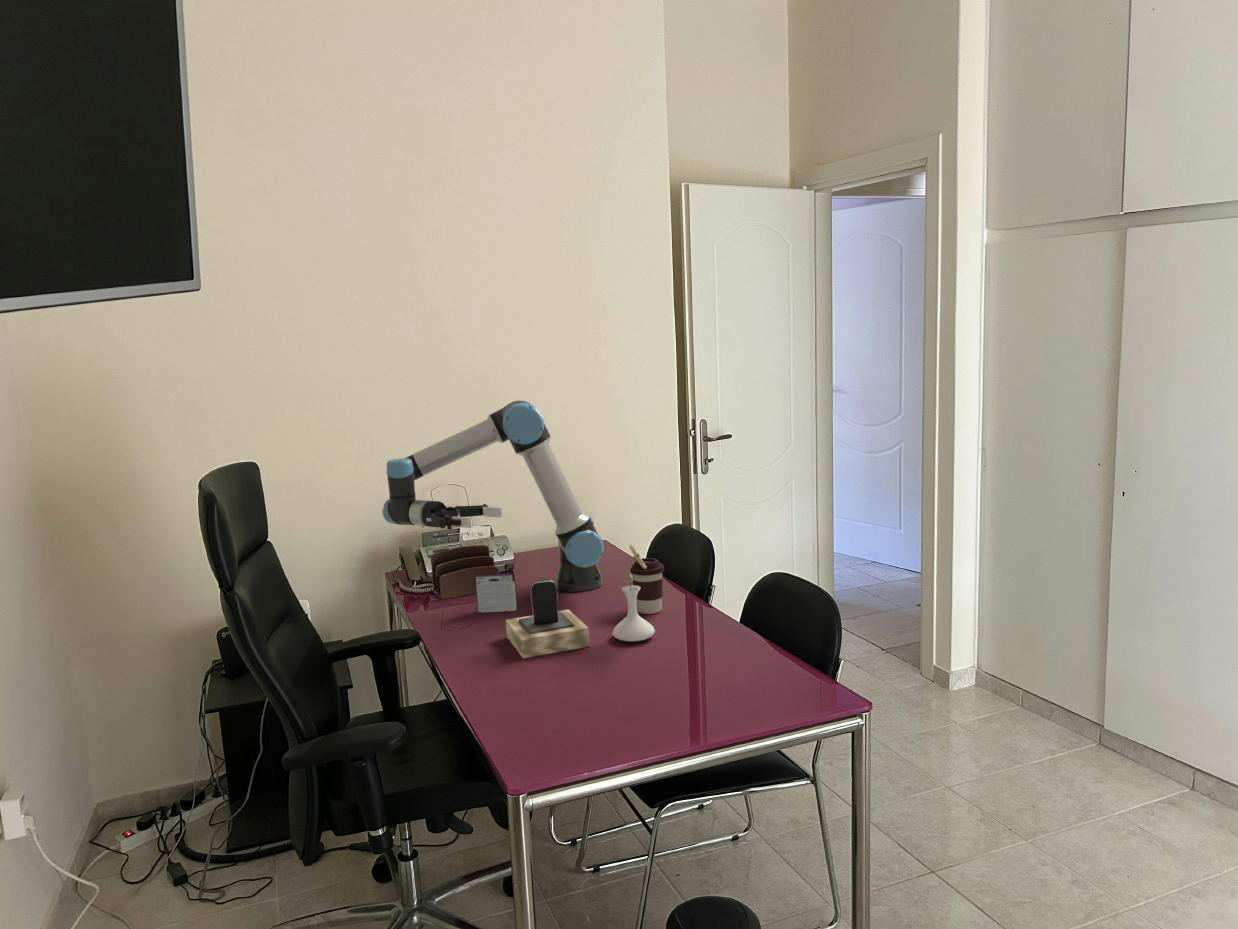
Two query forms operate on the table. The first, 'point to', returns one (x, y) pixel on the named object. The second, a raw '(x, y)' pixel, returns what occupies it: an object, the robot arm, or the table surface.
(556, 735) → the table surface
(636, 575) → the coffee cup
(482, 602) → the ink box
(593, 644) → the table surface
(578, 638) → the stand
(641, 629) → the flower in vase
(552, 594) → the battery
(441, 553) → the letter holder
